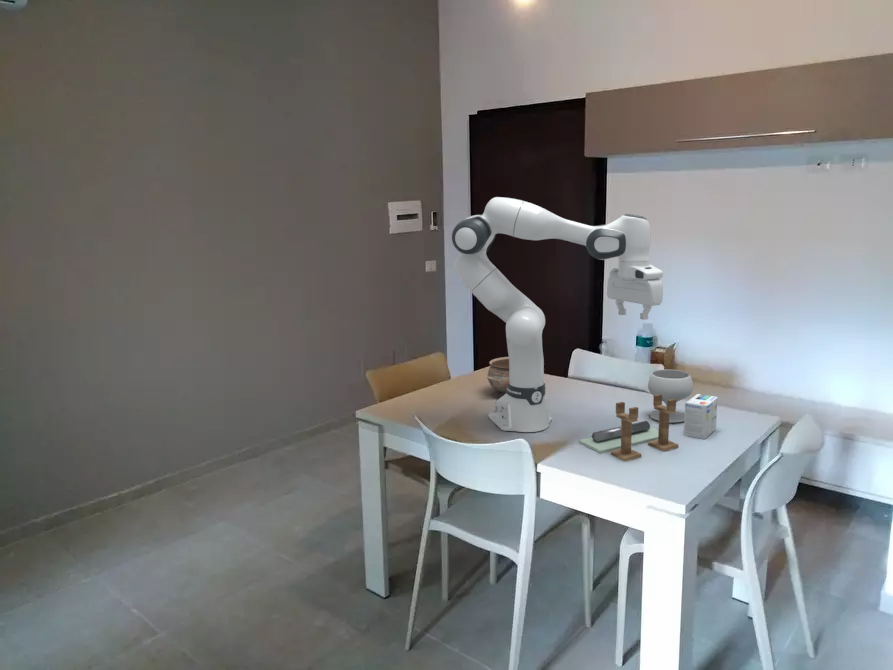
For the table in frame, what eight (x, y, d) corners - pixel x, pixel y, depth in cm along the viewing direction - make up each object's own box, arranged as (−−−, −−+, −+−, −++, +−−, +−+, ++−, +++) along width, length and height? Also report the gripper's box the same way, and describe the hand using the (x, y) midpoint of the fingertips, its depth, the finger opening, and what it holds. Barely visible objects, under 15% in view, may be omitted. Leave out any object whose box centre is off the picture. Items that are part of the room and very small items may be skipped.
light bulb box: (695, 425, 210) (696, 393, 208) (716, 429, 206) (718, 396, 203) (682, 435, 202) (684, 401, 199) (705, 439, 197) (707, 405, 195)
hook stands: (609, 454, 189) (610, 404, 186) (662, 441, 197) (664, 393, 194) (625, 461, 183) (626, 410, 180) (679, 448, 192) (681, 398, 189)
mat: (579, 442, 198) (579, 440, 198) (645, 427, 210) (645, 424, 209) (600, 453, 190) (600, 450, 189) (668, 436, 201) (668, 434, 201)
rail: (599, 440, 194) (595, 431, 195) (594, 443, 197) (590, 434, 198) (651, 428, 203) (647, 419, 204) (645, 431, 205) (642, 422, 206)
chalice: (697, 424, 210) (699, 379, 207) (652, 425, 211) (654, 380, 208) (684, 410, 224) (686, 368, 221) (642, 411, 225) (644, 368, 222)
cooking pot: (518, 382, 265) (518, 352, 263) (553, 391, 251) (553, 360, 248) (471, 395, 250) (470, 363, 247) (506, 406, 235) (505, 373, 233)
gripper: (602, 268, 200) (601, 313, 203) (650, 274, 182) (648, 323, 185) (618, 267, 203) (617, 311, 206) (667, 272, 185) (665, 320, 188)
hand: (632, 317), depth 195 cm, fingers open, 8 cm apart
